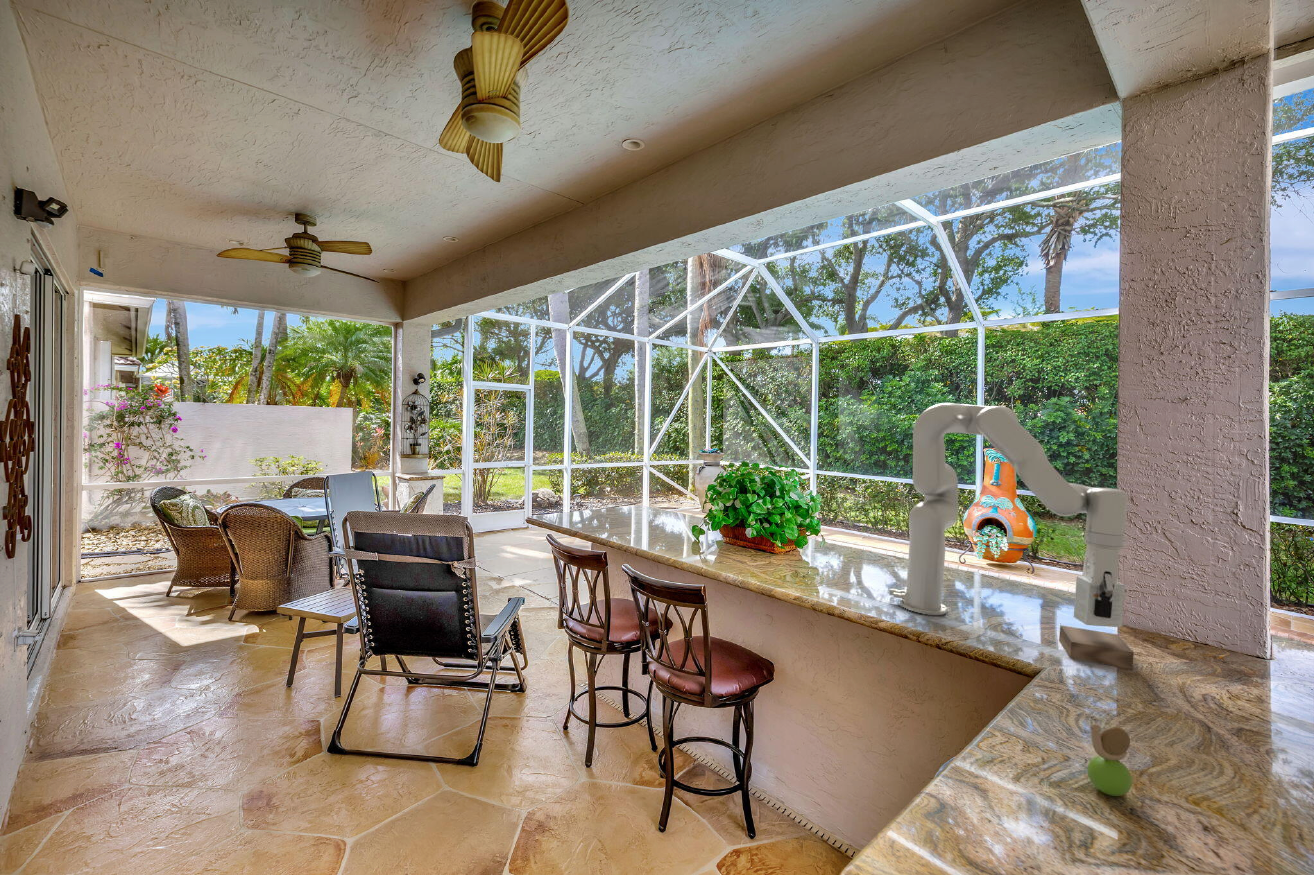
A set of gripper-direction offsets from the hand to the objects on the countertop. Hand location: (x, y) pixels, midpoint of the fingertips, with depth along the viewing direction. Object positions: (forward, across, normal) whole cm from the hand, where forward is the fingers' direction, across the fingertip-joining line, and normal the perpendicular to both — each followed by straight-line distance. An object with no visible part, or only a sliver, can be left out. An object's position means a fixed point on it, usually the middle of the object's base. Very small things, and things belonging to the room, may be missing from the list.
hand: (1097, 611), depth 143 cm
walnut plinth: (+11, 0, 0) cm, 11 cm away
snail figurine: (+11, +64, -13) cm, 66 cm away
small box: (+3, 0, 0) cm, 3 cm away
